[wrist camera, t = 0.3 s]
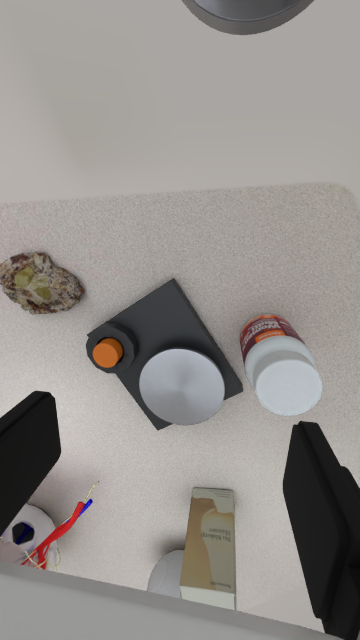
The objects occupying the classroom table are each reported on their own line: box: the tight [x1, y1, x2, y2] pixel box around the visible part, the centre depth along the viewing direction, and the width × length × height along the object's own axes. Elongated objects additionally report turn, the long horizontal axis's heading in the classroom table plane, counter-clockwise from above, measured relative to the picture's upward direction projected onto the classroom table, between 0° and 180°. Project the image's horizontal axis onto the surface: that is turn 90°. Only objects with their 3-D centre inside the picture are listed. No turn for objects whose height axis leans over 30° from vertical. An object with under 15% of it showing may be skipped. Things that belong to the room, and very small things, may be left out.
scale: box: [86, 278, 243, 430], centre depth 33 cm, size 16×14×4 cm
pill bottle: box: [240, 314, 323, 416], centre depth 26 cm, size 6×6×11 cm
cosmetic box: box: [179, 488, 237, 611], centre depth 34 cm, size 6×4×12 cm
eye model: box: [147, 550, 184, 598], centre depth 40 cm, size 10×10×10 cm
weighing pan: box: [139, 347, 225, 425], centre depth 31 cm, size 10×10×1 cm
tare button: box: [93, 338, 123, 368], centre depth 31 cm, size 3×3×2 cm
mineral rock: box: [0, 252, 84, 315], centre depth 33 cm, size 11×4×8 cm
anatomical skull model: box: [0, 482, 99, 572], centre depth 38 cm, size 16×19×25 cm
